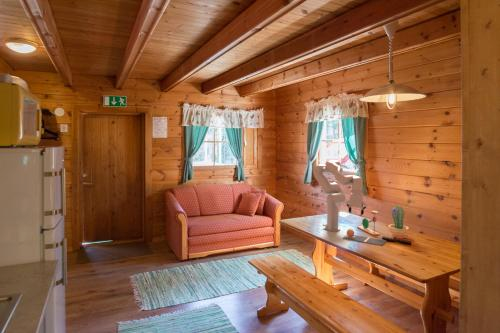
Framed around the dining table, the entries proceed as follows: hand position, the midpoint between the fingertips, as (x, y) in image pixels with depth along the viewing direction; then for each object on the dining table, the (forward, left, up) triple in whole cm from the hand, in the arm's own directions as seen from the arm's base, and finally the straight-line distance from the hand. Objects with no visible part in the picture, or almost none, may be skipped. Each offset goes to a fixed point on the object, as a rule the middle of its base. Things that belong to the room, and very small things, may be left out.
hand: (355, 213), depth 267 cm
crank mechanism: (+4, +24, -20) cm, 31 cm away
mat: (+8, -2, -20) cm, 21 cm away
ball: (-3, -2, -16) cm, 16 cm away
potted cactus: (+28, +23, -20) cm, 41 cm away
